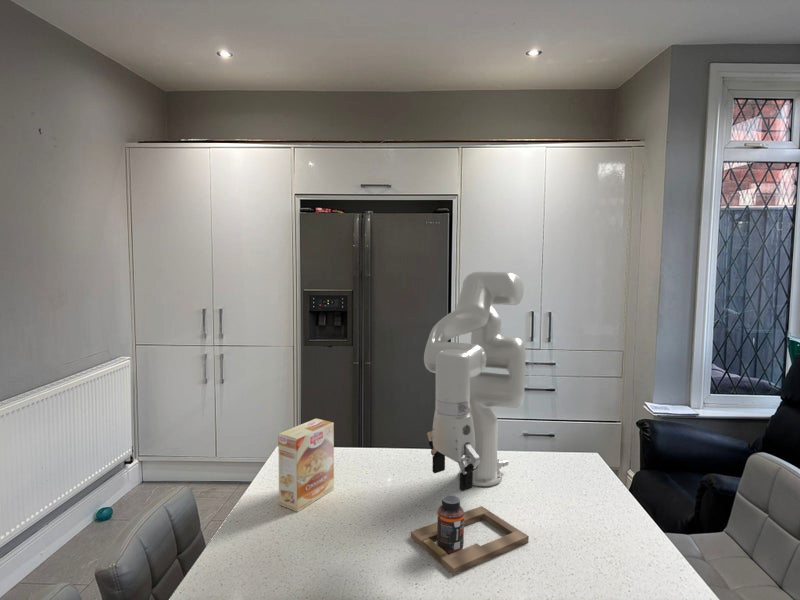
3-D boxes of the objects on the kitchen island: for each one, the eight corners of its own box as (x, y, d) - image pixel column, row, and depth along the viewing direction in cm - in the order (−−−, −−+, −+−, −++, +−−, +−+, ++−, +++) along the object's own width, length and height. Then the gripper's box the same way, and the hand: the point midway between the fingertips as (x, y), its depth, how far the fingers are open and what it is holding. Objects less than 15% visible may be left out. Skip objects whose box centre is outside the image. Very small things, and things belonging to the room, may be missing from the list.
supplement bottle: (465, 555, 109) (465, 506, 108) (438, 554, 109) (438, 505, 108) (462, 539, 115) (462, 492, 114) (436, 539, 115) (436, 492, 114)
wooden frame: (481, 511, 127) (481, 504, 127) (528, 542, 114) (528, 534, 114) (410, 537, 115) (410, 530, 115) (453, 575, 102) (453, 567, 102)
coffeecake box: (297, 512, 126) (296, 439, 124) (277, 505, 130) (276, 433, 128) (335, 489, 139) (334, 421, 137) (316, 483, 143) (315, 417, 141)
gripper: (492, 414, 103) (491, 491, 105) (442, 393, 118) (441, 461, 120) (464, 421, 99) (463, 501, 101) (416, 398, 114) (416, 469, 116)
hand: (451, 479), depth 111 cm, fingers open, 9 cm apart
